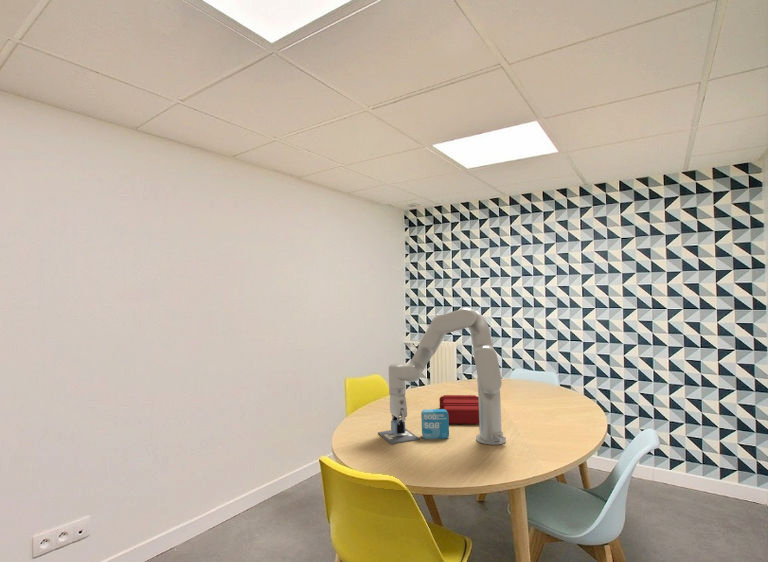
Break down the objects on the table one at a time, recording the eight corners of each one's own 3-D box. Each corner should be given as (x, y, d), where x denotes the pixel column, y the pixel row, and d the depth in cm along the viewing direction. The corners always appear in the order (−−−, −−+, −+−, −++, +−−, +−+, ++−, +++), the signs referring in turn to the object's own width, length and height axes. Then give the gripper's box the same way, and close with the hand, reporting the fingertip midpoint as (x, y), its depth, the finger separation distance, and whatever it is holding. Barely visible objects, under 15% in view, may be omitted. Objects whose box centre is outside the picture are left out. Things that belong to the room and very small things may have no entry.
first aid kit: (439, 408, 228) (439, 393, 229) (480, 408, 225) (479, 393, 226) (440, 425, 196) (440, 408, 197) (488, 426, 194) (487, 408, 194)
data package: (422, 439, 177) (421, 412, 177) (421, 435, 181) (421, 409, 182) (449, 438, 176) (448, 411, 177) (447, 435, 181) (447, 408, 182)
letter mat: (419, 439, 176) (419, 438, 176) (390, 444, 171) (390, 443, 171) (404, 429, 191) (404, 428, 191) (378, 433, 186) (377, 432, 186)
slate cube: (405, 433, 179) (405, 422, 180) (395, 434, 178) (395, 423, 178) (401, 430, 184) (400, 419, 184) (391, 431, 182) (390, 420, 183)
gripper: (412, 394, 175) (413, 435, 174) (397, 386, 191) (398, 425, 190) (397, 396, 173) (398, 438, 172) (383, 388, 188) (384, 427, 187)
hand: (398, 430), depth 181 cm, fingers closed on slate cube, 4 cm apart
